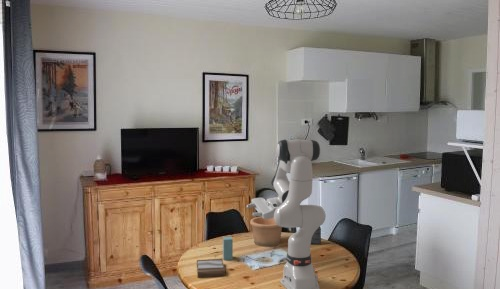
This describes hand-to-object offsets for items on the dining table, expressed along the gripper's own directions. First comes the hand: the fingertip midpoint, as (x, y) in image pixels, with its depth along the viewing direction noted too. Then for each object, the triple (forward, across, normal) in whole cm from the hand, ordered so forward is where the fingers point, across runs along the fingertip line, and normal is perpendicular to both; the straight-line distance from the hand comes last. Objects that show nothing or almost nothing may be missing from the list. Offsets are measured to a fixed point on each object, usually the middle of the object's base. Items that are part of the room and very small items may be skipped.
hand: (249, 210), depth 232 cm
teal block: (+16, +2, +26) cm, 31 cm away
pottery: (-16, -14, +35) cm, 41 cm away
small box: (-43, -4, +36) cm, 57 cm away
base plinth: (+29, +15, +22) cm, 39 cm away
